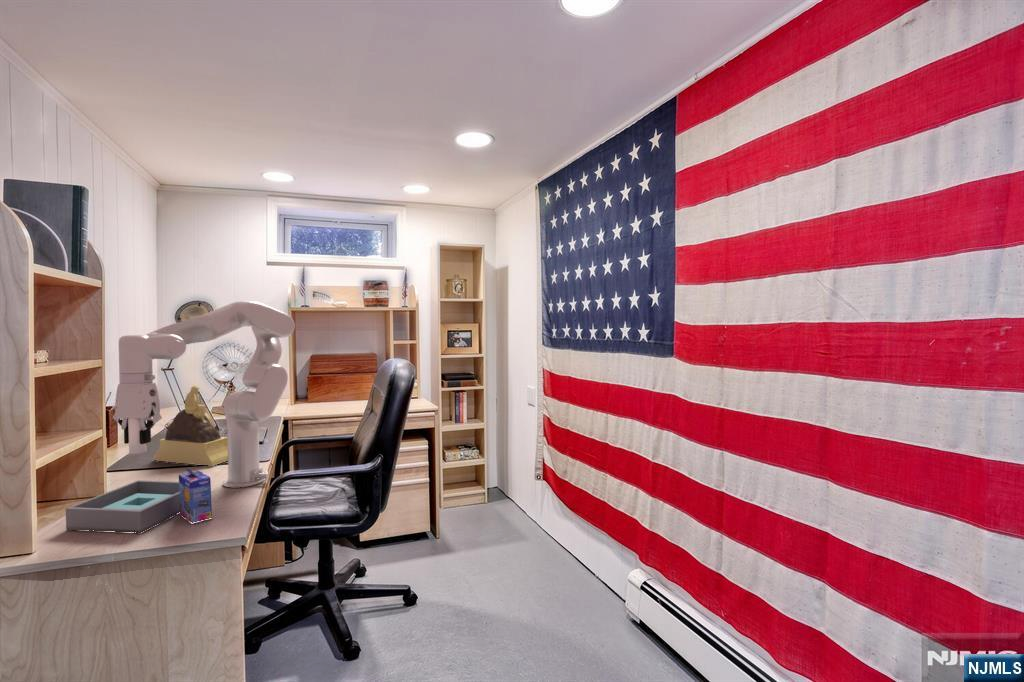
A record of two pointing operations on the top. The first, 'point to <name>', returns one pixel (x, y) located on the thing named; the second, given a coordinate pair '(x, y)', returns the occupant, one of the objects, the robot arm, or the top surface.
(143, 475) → the top surface
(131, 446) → the plug
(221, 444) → the statue on rock pedestal
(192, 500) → the ink cartridge box
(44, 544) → the top surface
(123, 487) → the storage box
